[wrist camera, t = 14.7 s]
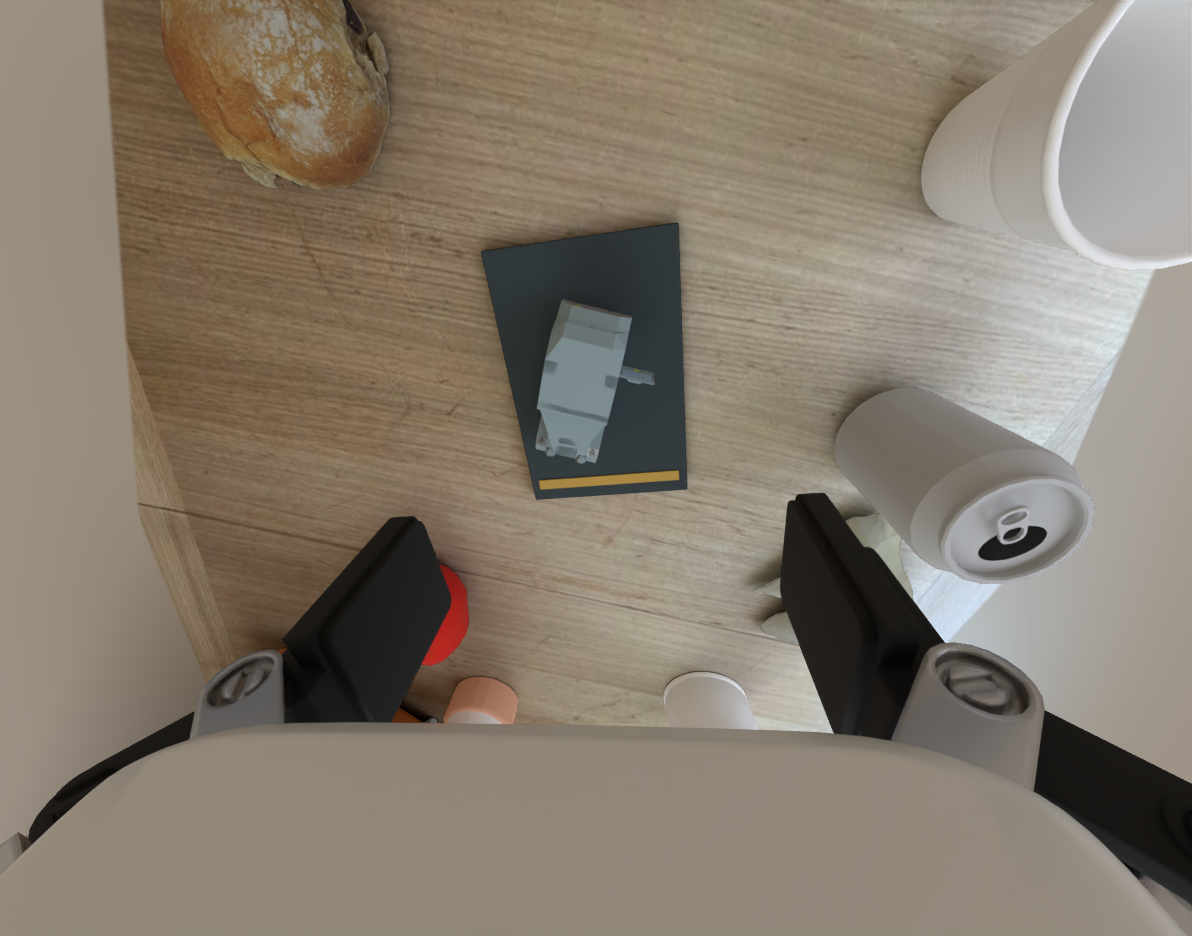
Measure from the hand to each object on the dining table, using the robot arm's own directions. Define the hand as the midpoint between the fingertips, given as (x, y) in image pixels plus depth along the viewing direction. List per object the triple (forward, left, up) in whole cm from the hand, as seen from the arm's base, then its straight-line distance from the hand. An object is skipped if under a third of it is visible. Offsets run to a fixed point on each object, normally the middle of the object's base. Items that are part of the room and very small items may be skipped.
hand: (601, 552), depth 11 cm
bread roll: (+16, -17, -21) cm, 31 cm away
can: (-18, +7, -21) cm, 29 cm away
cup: (-20, -9, -21) cm, 30 cm away
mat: (+2, +1, -21) cm, 21 cm away
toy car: (+2, +1, -20) cm, 20 cm away
